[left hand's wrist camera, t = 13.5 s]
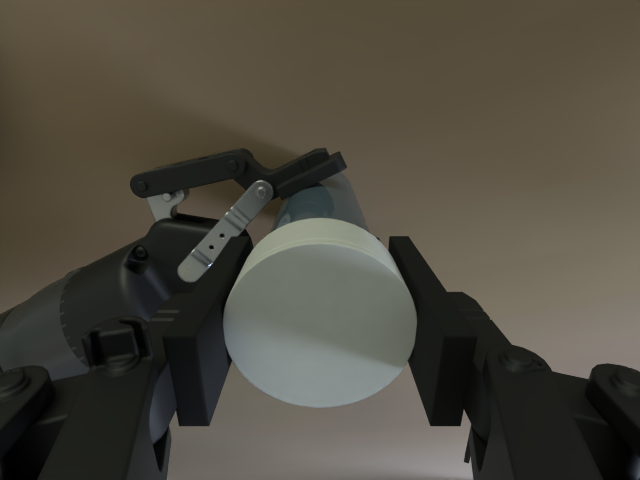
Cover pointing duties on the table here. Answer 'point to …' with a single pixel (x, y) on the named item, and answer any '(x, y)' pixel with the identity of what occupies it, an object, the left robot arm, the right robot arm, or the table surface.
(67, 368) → the right robot arm
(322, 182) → the bottle
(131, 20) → the table surface
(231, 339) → the lid
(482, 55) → the table surface
